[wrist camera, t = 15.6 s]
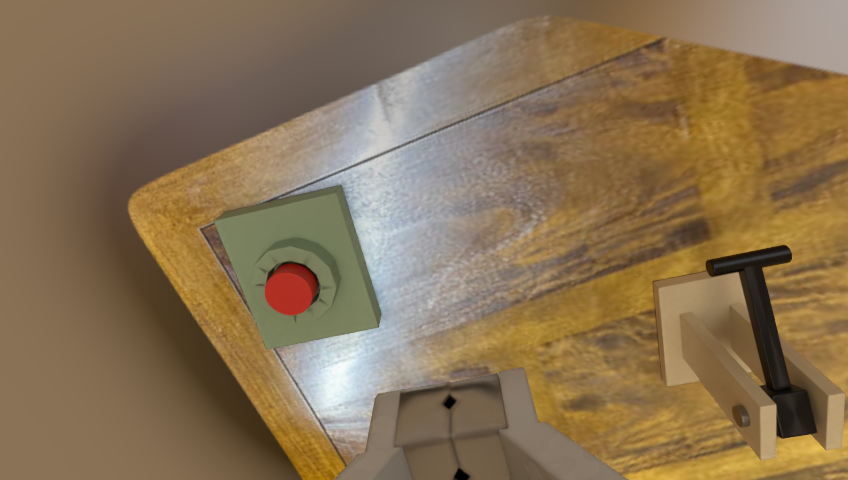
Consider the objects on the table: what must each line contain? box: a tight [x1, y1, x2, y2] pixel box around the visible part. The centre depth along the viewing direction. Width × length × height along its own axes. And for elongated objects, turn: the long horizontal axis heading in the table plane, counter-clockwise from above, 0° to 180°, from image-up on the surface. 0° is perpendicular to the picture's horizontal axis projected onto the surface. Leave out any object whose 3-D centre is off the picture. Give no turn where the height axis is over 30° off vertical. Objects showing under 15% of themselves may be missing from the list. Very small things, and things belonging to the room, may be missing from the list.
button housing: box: [214, 185, 381, 349], centre depth 42 cm, size 12×10×4 cm
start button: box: [265, 263, 317, 315], centre depth 39 cm, size 4×4×2 cm
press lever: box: [706, 245, 817, 438], centre depth 34 cm, size 12×5×2 cm, turn 14°
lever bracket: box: [653, 271, 845, 460], centre depth 38 cm, size 10×8×13 cm
